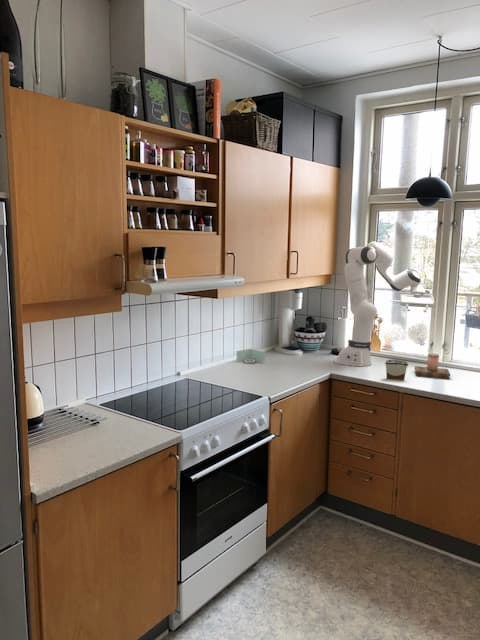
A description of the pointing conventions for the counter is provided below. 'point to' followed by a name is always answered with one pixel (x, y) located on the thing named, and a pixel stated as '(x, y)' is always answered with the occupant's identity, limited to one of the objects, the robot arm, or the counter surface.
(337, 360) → the robot arm
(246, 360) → the l-shaped corner panel
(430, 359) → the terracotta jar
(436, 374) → the walnut stand
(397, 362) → the food container
